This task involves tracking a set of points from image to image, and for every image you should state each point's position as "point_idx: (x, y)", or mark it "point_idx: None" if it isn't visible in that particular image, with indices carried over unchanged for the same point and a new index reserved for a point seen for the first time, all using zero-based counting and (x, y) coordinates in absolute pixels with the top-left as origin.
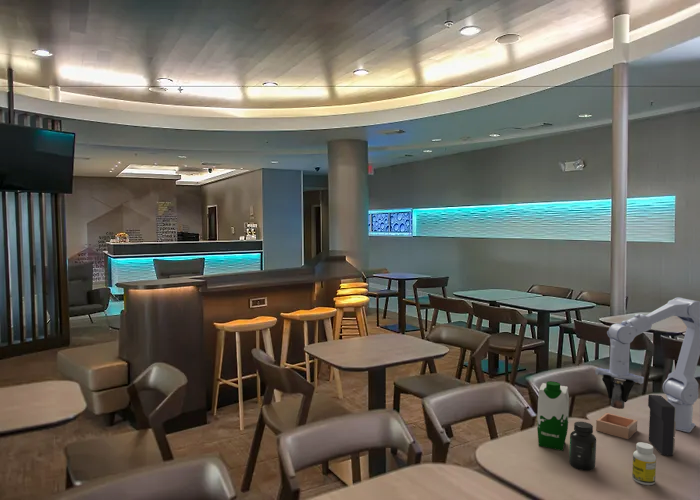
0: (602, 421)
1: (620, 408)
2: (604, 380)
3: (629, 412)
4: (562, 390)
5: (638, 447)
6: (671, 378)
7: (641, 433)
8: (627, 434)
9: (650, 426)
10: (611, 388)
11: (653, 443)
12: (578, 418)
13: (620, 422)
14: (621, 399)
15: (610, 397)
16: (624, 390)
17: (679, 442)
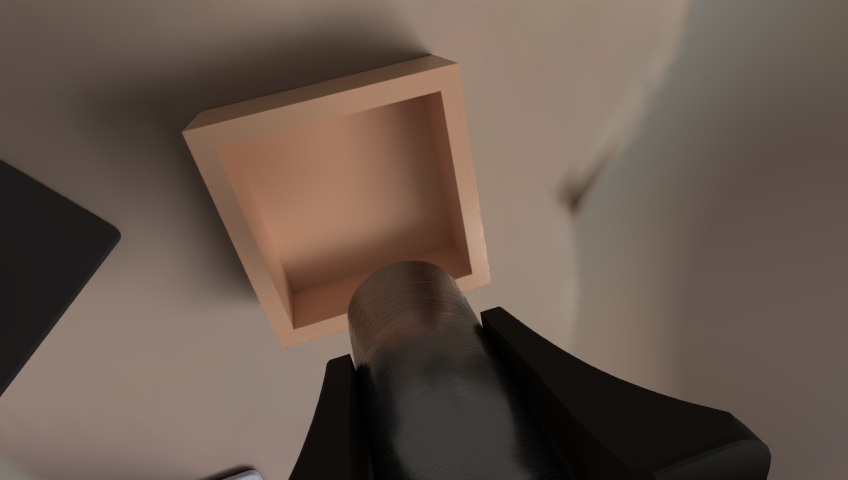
0: (412, 84)
1: (357, 290)
2: (698, 425)
3: None
4: None
5: None
6: None
7: (238, 292)
8: (200, 119)
9: (38, 274)
10: (539, 421)
11: (10, 176)
12: (605, 153)
13: None
14: (366, 357)
15: (486, 318)
16: (337, 468)
17: (18, 376)
